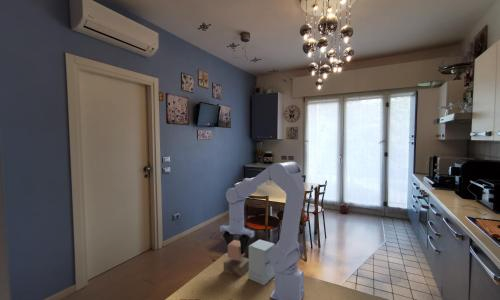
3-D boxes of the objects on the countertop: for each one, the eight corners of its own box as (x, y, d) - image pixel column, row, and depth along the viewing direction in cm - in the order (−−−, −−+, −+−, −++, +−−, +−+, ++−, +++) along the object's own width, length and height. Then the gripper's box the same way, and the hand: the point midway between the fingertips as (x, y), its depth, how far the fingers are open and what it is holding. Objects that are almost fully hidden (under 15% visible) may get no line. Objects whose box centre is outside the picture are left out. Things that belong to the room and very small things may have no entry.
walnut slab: (250, 268, 94) (250, 259, 94) (240, 277, 88) (240, 267, 88) (233, 263, 98) (233, 254, 98) (223, 272, 92) (223, 262, 92)
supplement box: (264, 286, 83) (264, 250, 82) (248, 278, 87) (247, 245, 87) (275, 276, 89) (275, 243, 88) (259, 269, 93) (259, 238, 93)
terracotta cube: (245, 254, 94) (245, 242, 94) (238, 260, 90) (238, 247, 89) (234, 251, 96) (234, 239, 96) (227, 257, 92) (227, 244, 92)
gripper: (215, 218, 92) (215, 252, 93) (248, 223, 86) (248, 260, 86) (225, 213, 99) (225, 245, 99) (256, 218, 92) (256, 252, 93)
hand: (236, 251), depth 93 cm, fingers closed on terracotta cube, 5 cm apart
